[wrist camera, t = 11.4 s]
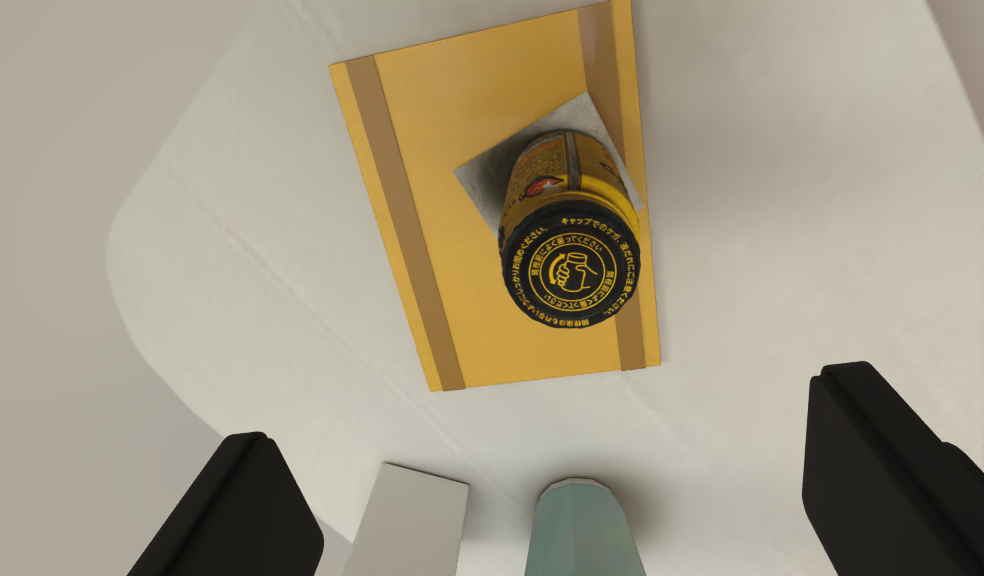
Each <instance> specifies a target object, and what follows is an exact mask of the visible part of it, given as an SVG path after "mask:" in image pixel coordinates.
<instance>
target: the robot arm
mask: <svg viewBox="0 0 984 576" xmlns="http://www.w3.org/2000/svg"><path fill="white" fill-rule="evenodd" d="M802 499H803V504H804V508H805V511H806V514H807V516H808V518H809V520H810V522H811V524H812V526H813V528H814V530H815V532H816V534H817V536H818V538H819V540H820V541H821V543H822V545H823V547H824V549H825V551H826V553H827V555H828V557H829V559H830V561H831V563H832V564H833V566H834V568H835V570H836V572H837V574H838V576H984V473H983V472H982V470H981V469H980V468H979V467H978V466H977V465H976V464H975V463H974V462H973V461H972V460H971V459H970V458H969V457H968V456H967V455H966V454H965V453H964V452H963V451H962V450H960V449H959V448H958V447H957V446H955V445H953V444H950V443H948V442H942V441H941V440H940V439H939V438H938V437H937V436H936V435H935V434H934V432H933V431H932V430H931V429H930V428H929V427H928V426H927V425H926V424H925V423H924V422H923V420H922V419H921V418H920V417H919V416H918V415H917V414H916V413H915V412H914V411H913V410H912V408H911V407H910V406H909V405H908V404H907V403H906V402H905V401H904V400H903V399H902V397H901V396H900V395H899V394H898V393H897V392H896V391H895V390H894V389H893V388H892V387H891V385H890V384H889V383H888V382H887V381H886V380H885V379H884V378H883V377H882V376H881V375H880V373H879V372H878V371H877V370H876V369H875V368H874V367H873V366H872V365H871V364H870V363H868V362H866V361H859V362H850V363H842V364H833V365H826V366H824V367H823V368H822V370H821V375H819V376H813V377H812V378H811V380H810V388H809V402H808V416H807V430H806V444H805V459H804V473H803V487H802ZM323 548H324V537H323V533H322V531H321V529H320V527H319V525H318V523H317V521H316V519H315V517H314V516H313V514H312V512H311V510H310V508H309V506H308V504H307V502H306V500H305V498H304V496H303V494H302V492H301V490H300V488H299V487H298V485H297V483H296V481H295V479H294V477H293V475H292V473H291V471H290V469H289V467H288V465H287V463H286V461H285V460H284V458H283V456H282V454H281V452H280V450H279V448H278V446H277V444H276V443H275V441H274V440H273V439H271V438H268V437H267V436H266V434H264V433H263V432H249V433H240V434H232V435H229V436H227V437H226V438H225V439H224V440H223V441H222V443H221V445H220V446H219V447H218V449H217V450H216V451H215V453H214V454H213V456H212V457H211V458H210V460H209V461H208V462H207V464H206V465H205V467H204V468H203V470H202V471H201V472H200V474H199V475H198V476H197V478H196V479H195V481H194V482H193V484H192V485H191V486H190V488H189V489H188V491H187V492H186V493H185V495H184V496H183V497H182V499H181V500H180V502H179V503H178V505H177V506H176V507H175V509H174V510H173V511H172V513H171V514H170V516H169V517H168V519H167V520H166V521H165V523H164V524H163V525H162V527H161V528H160V530H159V531H158V532H157V534H156V535H155V537H154V538H153V540H152V541H151V542H150V544H149V545H148V546H147V548H146V549H145V551H144V552H143V553H142V555H141V556H140V558H139V559H138V561H137V562H136V563H135V565H134V566H133V568H132V569H131V570H130V572H129V573H128V575H127V576H314V574H315V571H316V569H317V566H318V564H319V561H320V558H321V556H322V553H323Z"/></svg>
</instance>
